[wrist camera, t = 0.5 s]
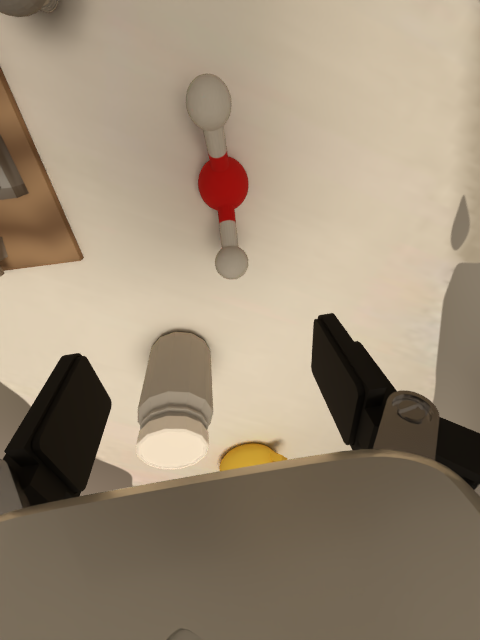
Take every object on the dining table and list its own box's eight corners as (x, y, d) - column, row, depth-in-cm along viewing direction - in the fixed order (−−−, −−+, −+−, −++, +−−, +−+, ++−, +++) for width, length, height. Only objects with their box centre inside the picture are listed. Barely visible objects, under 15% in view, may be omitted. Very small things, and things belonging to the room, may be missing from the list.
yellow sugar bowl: (249, 486, 77) (255, 533, 68) (199, 466, 68) (198, 517, 59) (306, 452, 71) (322, 500, 62) (259, 426, 62) (269, 476, 53)
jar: (185, 317, 44) (177, 413, 29) (221, 353, 49) (230, 451, 34) (138, 347, 46) (109, 451, 31) (177, 379, 51) (168, 482, 36)
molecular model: (169, 96, 28) (157, 83, 20) (225, 80, 28) (236, 60, 20) (216, 255, 38) (221, 289, 30) (258, 244, 38) (273, 275, 30)
